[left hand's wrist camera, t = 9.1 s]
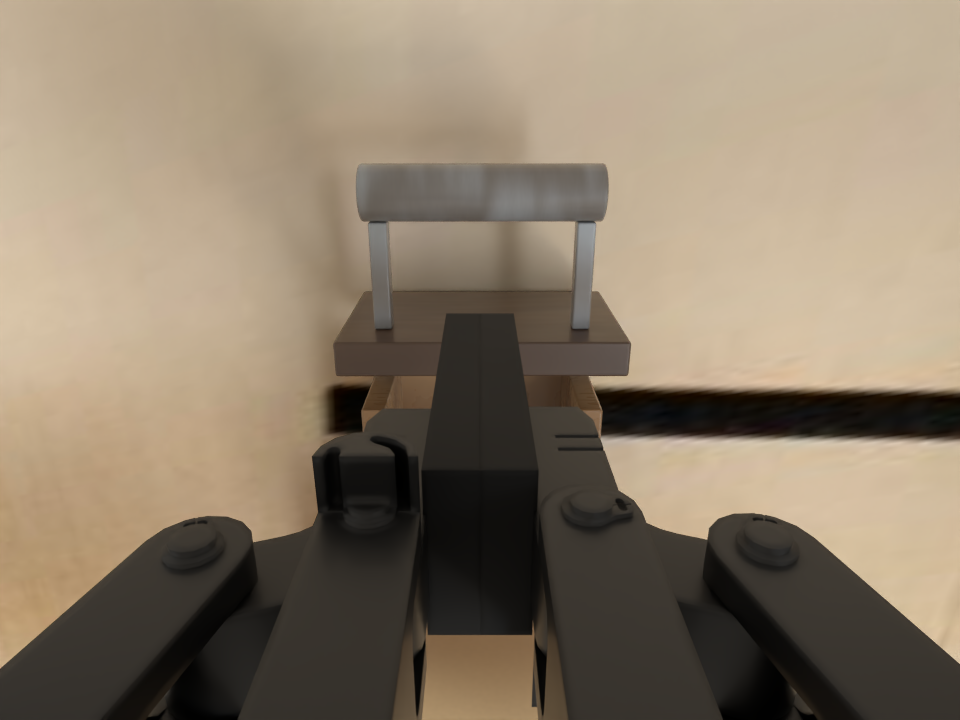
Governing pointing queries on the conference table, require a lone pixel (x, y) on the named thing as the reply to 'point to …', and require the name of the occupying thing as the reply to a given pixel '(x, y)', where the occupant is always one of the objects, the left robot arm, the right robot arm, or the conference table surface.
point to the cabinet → (479, 677)
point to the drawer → (538, 315)
